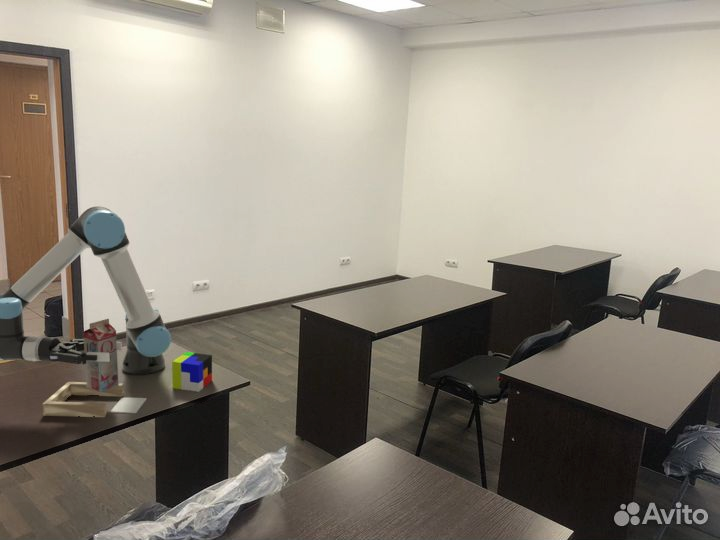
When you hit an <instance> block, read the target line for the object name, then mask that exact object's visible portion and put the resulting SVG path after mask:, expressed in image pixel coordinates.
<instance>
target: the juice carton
mask: <svg viewBox="0 0 720 540" xmlns="http://www.w3.org/2000/svg"><path fill="white" fill-rule="evenodd" d="M82 333H83V339H84V350H83V351H84V352H83V353H86V355H87V352H103V353H109V358H110V361H109V362H99V361H86V364H84V368H85V380H86V381H85V382H86V386H87V388H90V389H92V390H95V391H98V392H103V391H105V390H108V389H110V388H113V387H115V386H118V383H119V368H118V365H119V364H118V350H117V342H118V341H117V330H116V329H115V327H114V326H112V325H111V324H110V318H105V319H103V320H98V321H94V322H91V323H89V328H87V329H86V330H84V331H83V332H82Z"/></svg>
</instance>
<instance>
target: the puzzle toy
mask: <svg viewBox="0 0 720 540" xmlns="http://www.w3.org/2000/svg"><path fill="white" fill-rule="evenodd" d="M171 366H172V373H171V374H172V389H179V390H183V391H190V390H191V391H192V392H197V393H199V392H200V391H202V390H203V389H204V388H205V387H206V386H207V385H209V384H210V383H211V382H212V381H213V355H212V354H205V353H197V352H191V351H185V352H184V353H183V354H182V355H180V356H179V357H177V358H175V359H173V361H172V365H171ZM208 383H209V384H208Z"/></svg>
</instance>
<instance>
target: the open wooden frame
mask: <svg viewBox="0 0 720 540" xmlns="http://www.w3.org/2000/svg"><path fill="white" fill-rule="evenodd" d="M124 385H125V384H124V383H119V382H118V386H115V387H113V388H110V389H108V390H105V391H103V392H98V391H95V390H92V389H90V388H87V386H86V381H84V382H82V381H79V382H78V381H67V382H66V383H65V384H64V385H63V386H61V387H60V388H59V389H58V390H56V392H54V393H53V394H52V395H50V397H48V398H47V399H46V400H45V401H44V402H43V403H42V412H43V417H45V416H46V417H50V416H51V417H78V416H80V417H81V418H82V417H83V418H85V417H86V418H105V417H106V416H107V403H106V402H86V401H85V402H80V401H78V402H77V401H75V402H74V401H66V400H68V399H69V398H70V397H71V396H87V395H99V396H100V397H124V395H125V388H124V387H125V386H124ZM69 396H70V397H69ZM99 396H98V397H99ZM68 397H69V398H68ZM67 398H68V399H67ZM93 416H95V417H93Z"/></svg>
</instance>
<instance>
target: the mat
mask: <svg viewBox="0 0 720 540" xmlns="http://www.w3.org/2000/svg"><path fill="white" fill-rule="evenodd" d="M146 401H147V397H124V396H121V398H120V399H119V401H118V402H117V403H116V404H115V405H114V406H113V408H112V409H111V410H110V411H109V412H110V413H113V414H114V413H116V414H119V413H120V414H137V412H139V410H140V409H141V407H142V406H143V405H144V404H145V402H146Z"/></svg>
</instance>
